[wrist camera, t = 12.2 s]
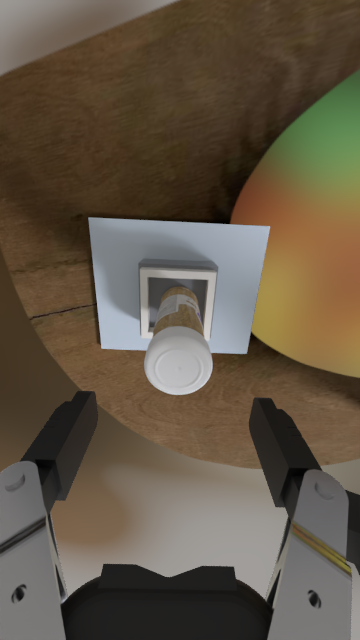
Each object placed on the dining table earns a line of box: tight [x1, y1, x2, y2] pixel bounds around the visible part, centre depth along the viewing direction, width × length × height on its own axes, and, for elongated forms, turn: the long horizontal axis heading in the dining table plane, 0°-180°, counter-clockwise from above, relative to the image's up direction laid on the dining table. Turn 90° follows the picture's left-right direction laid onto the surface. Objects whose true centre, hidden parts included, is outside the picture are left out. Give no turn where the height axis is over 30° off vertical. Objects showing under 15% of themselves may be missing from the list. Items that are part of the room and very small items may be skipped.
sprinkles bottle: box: [144, 287, 213, 395], centre depth 21 cm, size 5×5×13 cm
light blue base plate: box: [88, 217, 270, 354], centre depth 28 cm, size 22×18×6 cm
